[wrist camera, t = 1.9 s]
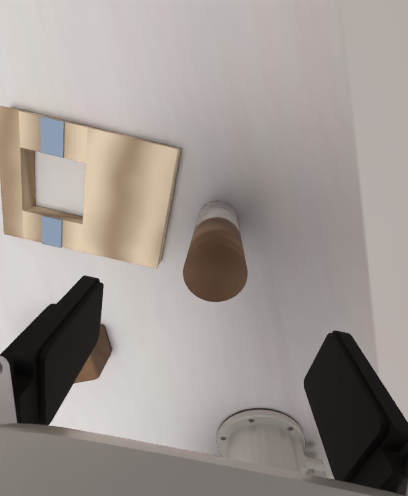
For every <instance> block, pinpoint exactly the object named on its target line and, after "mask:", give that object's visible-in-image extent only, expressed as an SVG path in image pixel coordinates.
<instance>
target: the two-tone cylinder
mask: <svg viewBox="0 0 408 496" xmlns="http://www.w3.org/2000/svg"><path fill="white" fill-rule="evenodd" d="M183 277H184V281H185V283H186V286H187V287H188V289H189V290H190V291H191V292H192V293H193V294H194V295H196V296H197V297H199V298H201V299H203V300H206V301H211V302H221V301H225V300H228V299H231V298H233V297H234V296H236V295H237V294H238V293H239V292H240V291H241V290H242V289H243V287H244V286H245V283H246V281H247V266H246V261H245V256H244V251H243V246H242V241H241V236H240V231H239V226H238V221H237V216H236V213H235V211H234V209H233V208H232V207H231V206H230V205H229V204H227V203H225V202H221V201H214V202H210V203H208V204H207V205H205V206H204V207H203V208H202V209H201V211H200V213H199V216H198V220H197V223H196V227H195V230H194V234H193V237H192V241H191V244H190V247H189V251H188V254H187V258H186V261H185V265H184V269H183Z"/></svg>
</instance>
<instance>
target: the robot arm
mask: <svg viewBox="0 0 408 496" xmlns="http://www.w3.org/2000/svg"><path fill="white" fill-rule="evenodd" d="M102 298H103V283H100V281H99V279H98V278H94V277H89V276H83V277H82V278H81V279H80V280H79V281H78V282H77V283H76V284H75V285H74V286H73V287H72V288H71V289H70V290H69V291H68V293H67V294H66V295H65V296H64V297H63V298H62V299H61V300H60V301H59V302H58V303H57V304H50V305H49V306H48V307H47V308H46V309H45V310H44V311H43V312H42V313H41V314H40V315H39V316H38V317H37V318H36V319H35V320H34V321H33V322H32V323H31V324H30V325H29V326H28V327H27V328H26V329H25V330H24V331H23V332H22V333H21V334H20V335H19V336H18V337H17V338H16V339H15V340H14V341H13V342H12V343H11V344H10V345H9V346H8V347H7V348H6V349H5V350H4V351H3V352H2V353H1V354H0V496H408V422H407V421H406V419H405V418H404V416H403V414H402V413H401V411H400V410H399V408H398V407H397V405H396V404H395V402H394V400H393V399H392V397H391V396H390V394H389V393H388V391H387V390H386V388H385V387H384V385H383V384H382V382H381V380H380V379H379V377H378V376H377V374H376V373H375V371H374V370H373V368H372V366H371V365H370V363H369V362H368V360H367V359H366V357H365V356H364V354H363V353H362V351H361V349H360V348H359V346H358V345H357V343H356V342H355V340H354V339H353V337H352V336H351V335H350V334H349V333H345V332H340V331H333V332H332V333H329V334H328V335H327V337H326V338H325V340H324V342H323V344H322V346H321V348H320V350H319V352H318V354H317V356H316V358H315V360H314V361H313V363H312V365H311V367H310V369H309V371H308V373H307V375H306V377H305V379H304V388H305V391H306V395H307V398H308V401H309V404H310V407H311V410H312V413H313V416H314V419H315V422H316V425H317V428H318V431H319V434H320V437H321V440H322V443H323V446H324V449H325V452H326V455H327V458H328V461H329V464H330V467H331V470H332V473H333V476H334V478H335V480H333V479H328V478H326V474H325V472H324V463H323V461H322V460H321V459H318V458H313V457H312V458H310V457H307V456H306V454H304V449H305V440H304V436H303V433H302V430H301V428H300V427H299V425H298V424H297V423H296V422H295V421H294V420H292V419H291V418H289V417H288V416H286V415H284V414H281V413H278V412H275V411H270V410H249V411H244V412H241V413H238V414H236V415H234V416H232V417H230V418H229V419H227V420H226V421H225V422H224V423H223V424H222V425H221V427H220V428H219V431H218V434H217V448H218V451H219V453H220V455H221V456H222V457H219V456H214V455H209V454H203V453H198V452H193V451H188V450H183V449H178V448H172V447H167V446H162V445H157V444H152V443H146V442H141V441H136V440H131V439H125V438H120V437H115V436H110V435H104V434H98V433H92V432H86V431H80V430H75V429H69V428H63V427H56V426H48V425H49V424H50V423H51V421H52V420H53V418H54V416H55V414H56V413H57V411H58V409H59V407H60V406H61V404H62V402H63V401H64V399H65V397H66V395H67V394H68V392H69V390H70V389H71V387H72V385H73V383H74V382H75V380H76V378H77V377H78V375H79V373H80V371H81V370H82V368H83V366H84V364H85V363H86V361H87V359H88V358H89V356H90V354H91V352H92V351H93V349H94V347H95V346H96V344H97V341H98V339H99V333H100V322H101V310H102Z"/></svg>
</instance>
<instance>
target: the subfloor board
mask: <svg viewBox="0 0 408 496" xmlns="http://www.w3.org/2000/svg"><path fill="white" fill-rule="evenodd" d="M34 151H38V152H41V153H45V154H49V155H53V156H57V157H61V158H67V159H72V160H76V161H80V162H84V163H86V169H85V188H84V207H83V217H81V216H77V215H72V214H68V213H64V212H59V211H55V210H51V209H46V208H42V207H38V206H35V160H34ZM180 152H181V148H177V147H173V146H168V145H164V144H160V143H156V142H152V141H148V140H144V139H139V138H135V137H131V136H127V135H123V134H119V133H115V132H110V131H106V130H102V129H98V128H94V127H90V126H86V125H82V124H77V123H73V122H69V121H65V120H61V119H57V118H53V117H48V116H44V115H40V114H36V113H32V112H28V111H24V110H19V109H15V108H11V107H4V106H0V181H1V196H2V211H3V225H4V234H6V235H11V236H15V237H19V238H24V239H28V240H33V241H37V242H41V243H42V244H46V245H50V246H55V247H59V248H62V247H63V248H68V249H72V250H77V251H81V252H85V253H90V254H94V255H99V256H103V257H107V258H112V259H116V260H121V261H125V262H129V263H134V264H138V265H143V266H147V267H151V268H156V269H157V268H158V266H159V264H160V261H161V257H162V252H163V246H164V241H165V235H166V230H167V224H168V218H169V213H170V207H171V202H172V196H173V191H174V185H175V180H176V174H177V169H178V163H179V157H180Z"/></svg>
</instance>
